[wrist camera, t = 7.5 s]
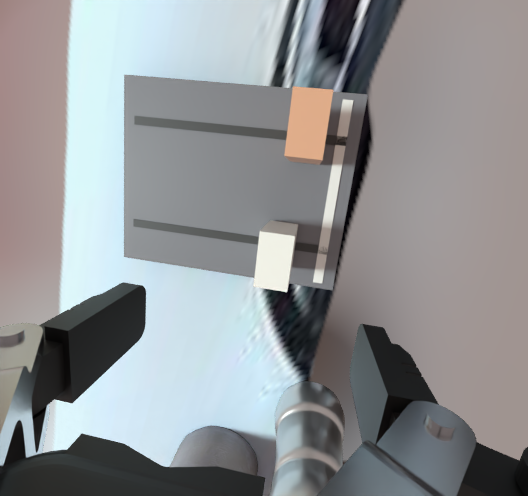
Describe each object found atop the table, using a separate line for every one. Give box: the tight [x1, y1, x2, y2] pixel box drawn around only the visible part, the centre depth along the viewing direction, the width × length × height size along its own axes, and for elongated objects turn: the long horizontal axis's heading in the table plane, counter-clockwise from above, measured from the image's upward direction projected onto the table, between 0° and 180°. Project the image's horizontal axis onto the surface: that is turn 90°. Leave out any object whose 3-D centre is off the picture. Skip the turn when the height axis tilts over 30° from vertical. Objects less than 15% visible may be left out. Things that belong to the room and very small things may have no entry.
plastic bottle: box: [270, 381, 345, 496], centre depth 22 cm, size 6×7×20 cm
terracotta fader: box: [284, 87, 333, 165], centre depth 21 cm, size 2×4×6 cm, turn 173°
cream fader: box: [253, 220, 298, 292], centre depth 23 cm, size 2×4×6 cm, turn 173°
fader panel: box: [124, 75, 368, 290], centre depth 27 cm, size 20×16×2 cm
